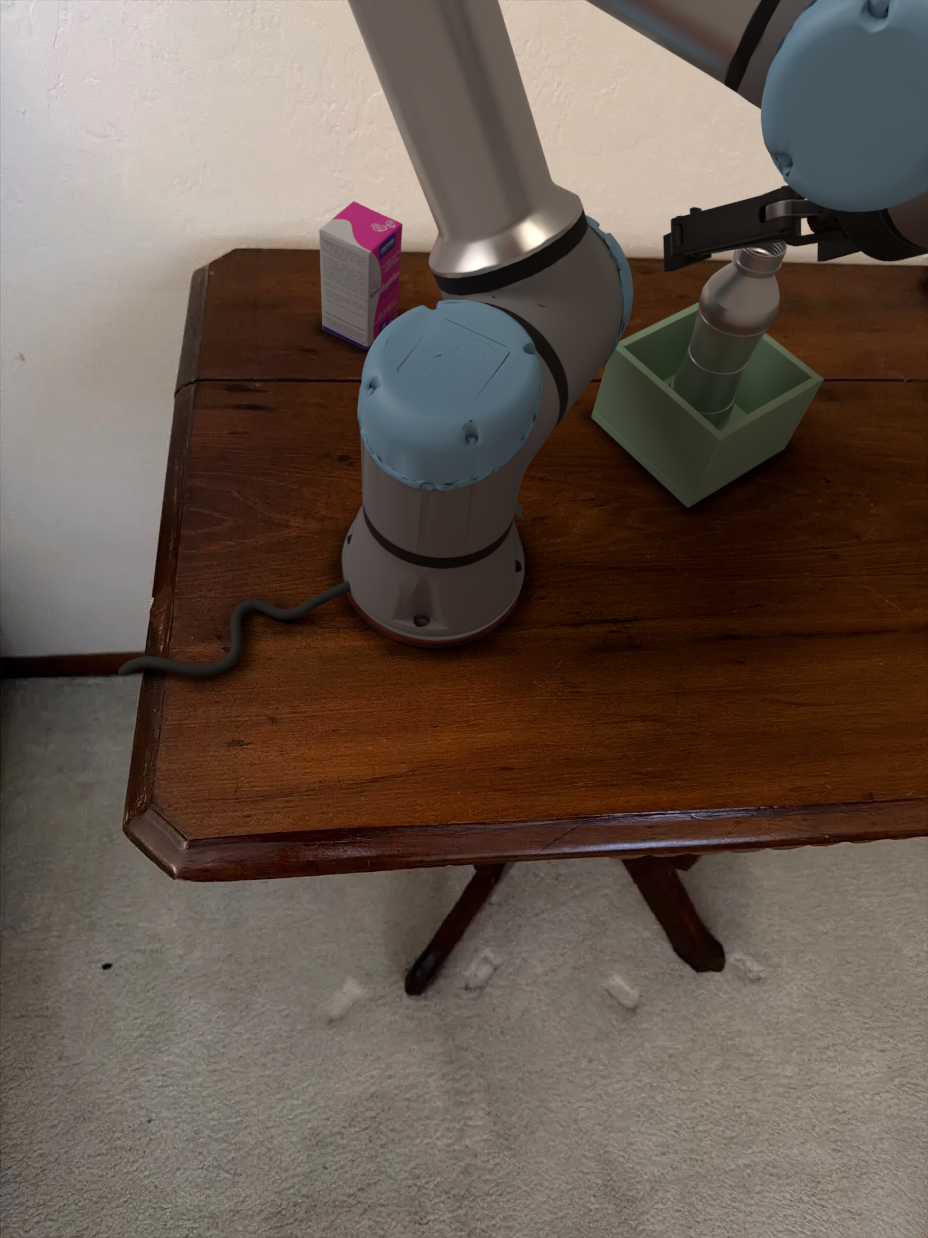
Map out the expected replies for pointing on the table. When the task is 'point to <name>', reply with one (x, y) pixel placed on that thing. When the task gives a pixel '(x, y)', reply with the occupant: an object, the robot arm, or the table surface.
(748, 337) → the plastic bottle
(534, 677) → the table surface
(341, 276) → the supplement box
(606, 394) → the green open box
